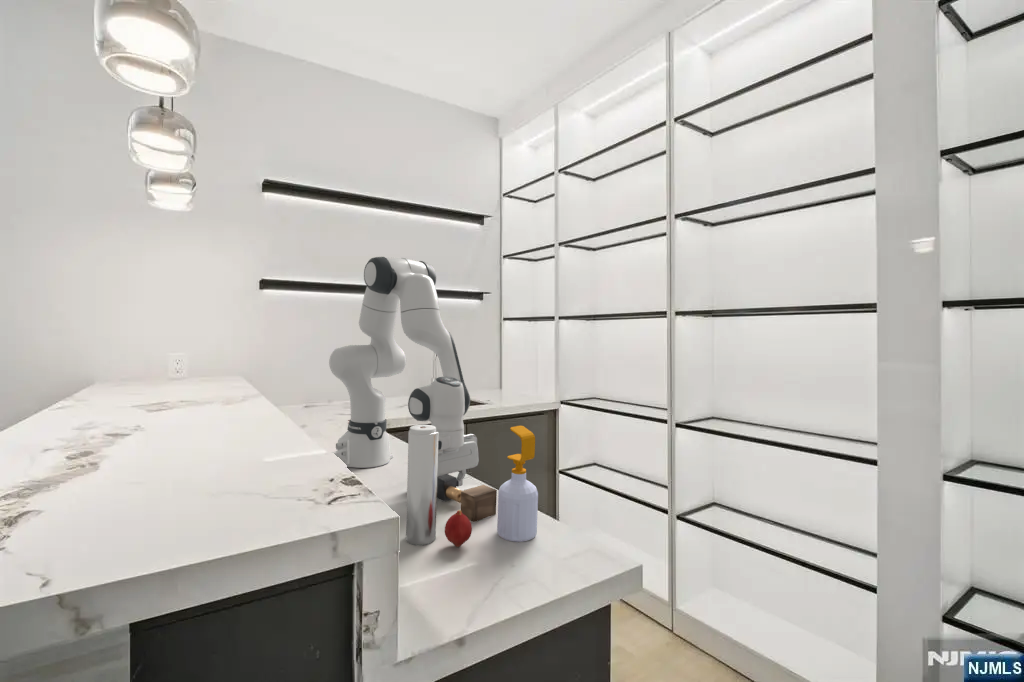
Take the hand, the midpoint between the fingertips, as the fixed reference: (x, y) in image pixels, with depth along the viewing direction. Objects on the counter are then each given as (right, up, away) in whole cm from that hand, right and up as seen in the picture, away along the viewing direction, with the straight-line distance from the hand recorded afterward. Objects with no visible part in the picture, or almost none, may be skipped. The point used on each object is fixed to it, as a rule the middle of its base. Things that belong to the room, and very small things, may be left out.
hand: (445, 489), depth 129 cm
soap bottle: (+19, -5, -19) cm, 27 cm away
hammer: (-2, -2, +2) cm, 3 cm away
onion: (+6, -4, -26) cm, 27 cm away
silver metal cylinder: (-2, -4, -23) cm, 24 cm away
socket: (+9, -4, -9) cm, 14 cm away
